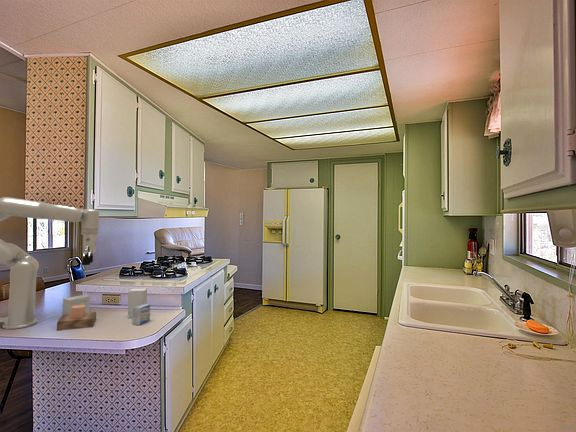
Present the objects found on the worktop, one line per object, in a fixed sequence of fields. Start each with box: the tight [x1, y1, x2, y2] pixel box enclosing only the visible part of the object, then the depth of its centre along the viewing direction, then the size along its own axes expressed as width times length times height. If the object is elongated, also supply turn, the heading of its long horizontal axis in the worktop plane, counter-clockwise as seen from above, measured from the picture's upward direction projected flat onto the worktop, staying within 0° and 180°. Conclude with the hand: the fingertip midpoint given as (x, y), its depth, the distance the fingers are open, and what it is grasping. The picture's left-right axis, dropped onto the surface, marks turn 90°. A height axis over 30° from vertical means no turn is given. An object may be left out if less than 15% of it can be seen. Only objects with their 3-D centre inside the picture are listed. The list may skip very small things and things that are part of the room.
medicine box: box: [131, 303, 151, 326], centre depth 150 cm, size 8×4×9 cm, turn 168°
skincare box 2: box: [127, 287, 148, 319], centre depth 160 cm, size 8×6×15 cm
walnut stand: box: [56, 311, 97, 332], centre depth 144 cm, size 14×12×4 cm
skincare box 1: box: [62, 294, 91, 315], centre depth 156 cm, size 10×6×10 cm, turn 152°
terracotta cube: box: [71, 305, 85, 319], centre depth 144 cm, size 5×5×5 cm
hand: (87, 263), depth 157 cm, fingers open, 9 cm apart
